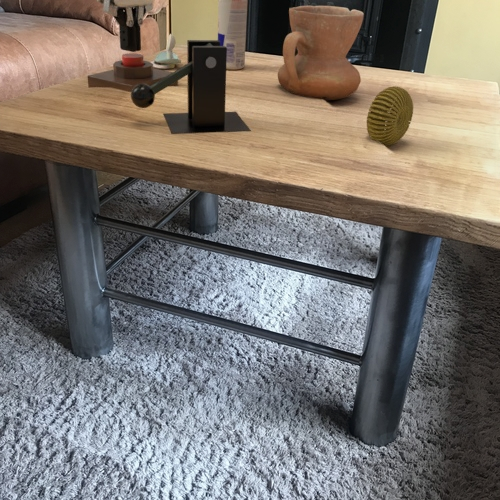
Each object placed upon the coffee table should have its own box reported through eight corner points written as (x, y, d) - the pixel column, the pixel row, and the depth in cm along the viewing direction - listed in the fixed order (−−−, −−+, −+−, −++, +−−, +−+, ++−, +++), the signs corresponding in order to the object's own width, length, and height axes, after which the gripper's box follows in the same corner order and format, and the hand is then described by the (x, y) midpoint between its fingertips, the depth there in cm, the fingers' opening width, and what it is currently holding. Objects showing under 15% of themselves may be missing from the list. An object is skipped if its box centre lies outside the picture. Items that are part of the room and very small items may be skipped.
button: (134, 69, 94) (133, 58, 94) (118, 66, 96) (117, 55, 95) (148, 65, 97) (147, 55, 96) (132, 62, 99) (131, 52, 98)
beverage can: (248, 66, 117) (252, -13, 109) (238, 72, 112) (242, -10, 105) (223, 63, 119) (225, -15, 111) (212, 68, 114) (214, -13, 106)
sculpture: (388, 135, 83) (398, 79, 78) (412, 142, 80) (423, 85, 76) (356, 146, 77) (365, 88, 73) (381, 154, 75) (392, 95, 71)
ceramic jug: (318, 80, 110) (326, 1, 102) (378, 97, 101) (392, 12, 93) (250, 93, 99) (254, 6, 92) (311, 114, 90) (321, 19, 83)
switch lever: (140, 115, 75) (127, 95, 74) (138, 108, 78) (125, 88, 76) (223, 65, 75) (212, 43, 73) (218, 60, 77) (207, 39, 76)
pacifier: (152, 72, 109) (183, 70, 111) (150, 38, 106) (181, 37, 108) (147, 63, 115) (176, 62, 117) (145, 31, 112) (175, 30, 114)
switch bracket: (171, 142, 75) (169, 50, 69) (163, 121, 83) (160, 37, 77) (250, 138, 78) (255, 50, 72) (235, 119, 85) (238, 37, 79)
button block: (133, 99, 92) (131, 74, 90) (88, 88, 96) (86, 64, 94) (178, 85, 101) (177, 62, 99) (135, 76, 105) (134, 54, 103)
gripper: (139, -74, 93) (142, 42, 102) (70, -79, 82) (81, 52, 91) (175, -72, 90) (175, 48, 99) (109, -76, 79) (116, 59, 88)
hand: (130, 49), depth 95 cm, fingers closed
